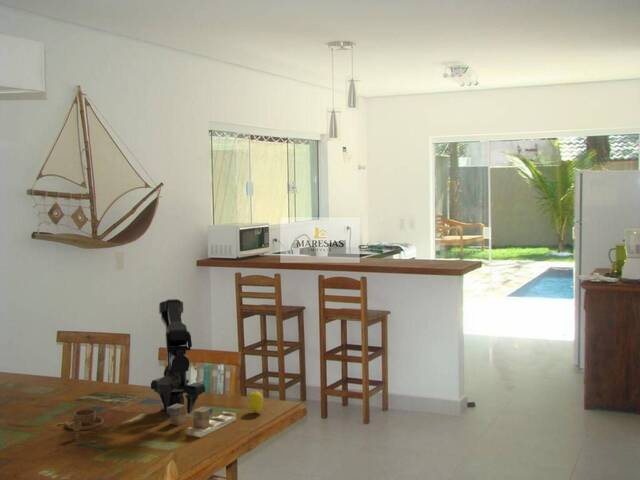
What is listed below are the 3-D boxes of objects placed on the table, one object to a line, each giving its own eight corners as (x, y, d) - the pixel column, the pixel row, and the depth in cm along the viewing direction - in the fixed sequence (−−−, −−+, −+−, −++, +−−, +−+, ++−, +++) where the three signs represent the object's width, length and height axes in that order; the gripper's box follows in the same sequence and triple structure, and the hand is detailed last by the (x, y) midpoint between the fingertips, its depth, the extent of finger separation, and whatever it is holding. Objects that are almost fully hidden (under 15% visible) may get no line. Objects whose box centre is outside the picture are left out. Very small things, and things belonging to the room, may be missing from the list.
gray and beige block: (166, 425, 254) (166, 407, 253) (176, 420, 259) (176, 403, 258) (175, 426, 252) (175, 409, 252) (185, 422, 257) (185, 404, 257)
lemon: (261, 415, 265) (261, 393, 265) (245, 414, 266) (245, 392, 266) (265, 411, 270) (265, 389, 270) (250, 410, 272) (250, 388, 271)
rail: (188, 434, 244) (187, 411, 243) (223, 418, 262) (223, 396, 262) (200, 437, 242) (200, 413, 241) (236, 420, 260) (236, 398, 259)
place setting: (118, 424, 256) (118, 407, 256) (79, 442, 238) (79, 424, 237) (75, 418, 262) (75, 401, 262) (34, 436, 244) (34, 417, 243)
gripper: (139, 367, 252) (140, 414, 253) (185, 374, 244) (186, 422, 245) (161, 360, 262) (161, 405, 263) (206, 366, 254) (206, 413, 255)
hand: (177, 411), depth 256 cm, fingers open, 9 cm apart
